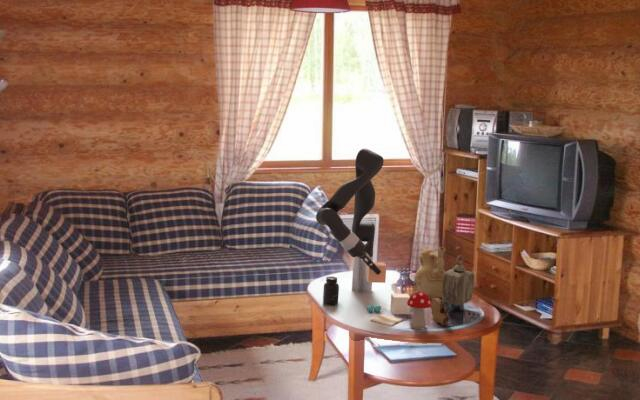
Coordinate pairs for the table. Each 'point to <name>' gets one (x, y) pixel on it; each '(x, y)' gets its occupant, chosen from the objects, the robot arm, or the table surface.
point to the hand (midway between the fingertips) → (377, 271)
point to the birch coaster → (386, 319)
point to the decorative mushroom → (419, 309)
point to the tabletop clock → (457, 285)
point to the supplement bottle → (331, 291)
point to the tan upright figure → (431, 273)
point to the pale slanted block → (400, 304)
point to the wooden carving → (439, 311)
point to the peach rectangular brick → (373, 277)
